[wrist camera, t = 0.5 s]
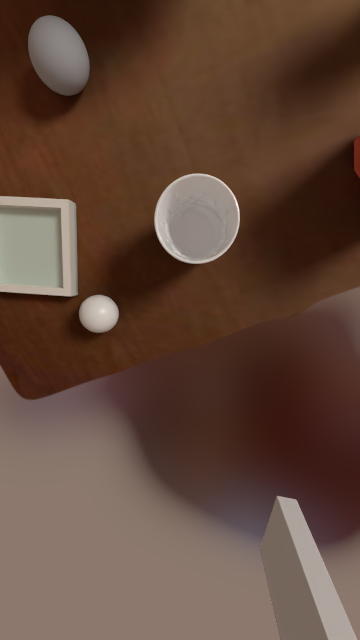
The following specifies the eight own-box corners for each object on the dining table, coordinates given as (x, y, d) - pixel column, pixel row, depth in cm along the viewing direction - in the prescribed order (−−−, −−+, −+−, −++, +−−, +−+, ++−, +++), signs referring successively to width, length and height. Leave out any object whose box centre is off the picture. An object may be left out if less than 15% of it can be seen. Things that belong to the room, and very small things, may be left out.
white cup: (172, 270, 34) (163, 271, 24) (160, 209, 33) (146, 184, 23) (230, 258, 33) (245, 254, 24) (220, 196, 32) (232, 163, 22)
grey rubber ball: (47, 48, 30) (11, -6, 24) (97, 49, 30) (73, -5, 24) (50, 106, 31) (16, 69, 25) (97, 108, 31) (75, 70, 25)
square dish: (-13, 199, 34) (-25, 194, 32) (75, 203, 33) (68, 199, 31) (-5, 289, 36) (-16, 290, 34) (77, 294, 36) (71, 296, 34)
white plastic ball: (88, 291, 35) (71, 295, 31) (123, 294, 35) (111, 298, 30) (88, 326, 36) (72, 335, 32) (122, 329, 36) (111, 338, 31)
